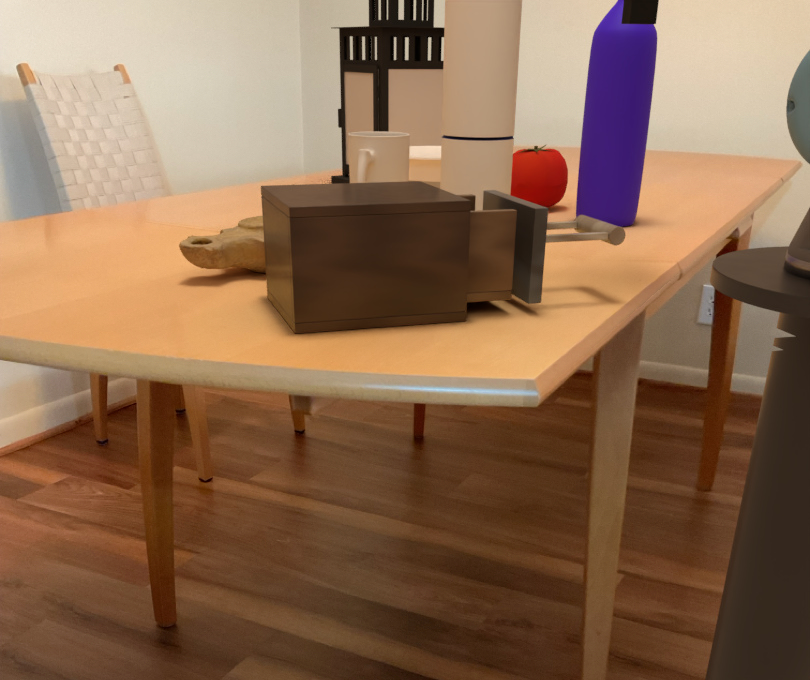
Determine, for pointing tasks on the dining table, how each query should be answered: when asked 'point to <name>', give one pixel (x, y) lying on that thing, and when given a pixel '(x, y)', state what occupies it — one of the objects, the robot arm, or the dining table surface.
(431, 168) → the bowl
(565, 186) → the tomato
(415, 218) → the cabinet
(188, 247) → the oil lamp
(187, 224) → the dining table surface
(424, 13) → the lantern
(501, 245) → the drawer
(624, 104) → the bottle
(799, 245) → the robot arm
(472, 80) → the cylindrical container
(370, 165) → the mug
